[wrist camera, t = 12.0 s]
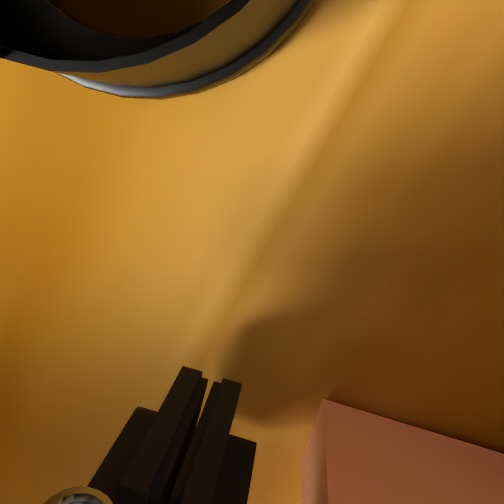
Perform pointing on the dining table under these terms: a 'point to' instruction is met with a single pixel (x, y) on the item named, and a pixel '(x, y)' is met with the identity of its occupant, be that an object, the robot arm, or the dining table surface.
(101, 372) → the dining table surface
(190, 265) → the dining table surface
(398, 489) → the tab
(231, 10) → the french press
